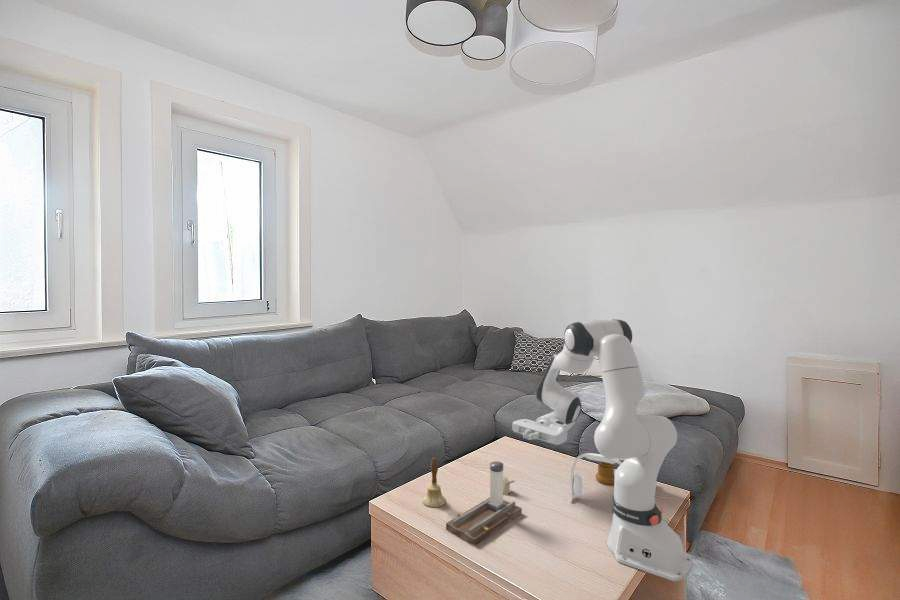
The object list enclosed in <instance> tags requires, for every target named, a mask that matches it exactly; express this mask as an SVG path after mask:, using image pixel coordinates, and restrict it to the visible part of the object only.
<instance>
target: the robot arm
mask: <svg viewBox="0 0 900 600" xmlns="http://www.w3.org/2000/svg"><path fill="white" fill-rule="evenodd" d="M632 331H633V330H632V328H631V327H630V325H629V323H628V322H627V321H625V320H622V319H615V318H614V319H590V320H585V321H575V322H573V323H570V324H567V326H566V327H565V330H564V333H563V339H564V344H563V347H562V350H559V351H556V352H555V353H554V354H553V356H552V357H551V359H550V361H549V362H548V365H547V366H546V369H545V372H544V373H543V375H542V378H541V380H540V382H539V383H538V385H537V386H536V388H535V396H536V399H537V401H539V402H541V403H542V404H544V405H545V406H547V407H549V408H550V409H552V411H551V412H549V413H546V414H544V415H542V416H539V417H537V418H536V420H531V419H527V418H522V419H521V418H520V419H517V420H514V421H513V422H512V431H513V432H514V433H516V434H520V435H522V439H524V440H529V441H531V440H539V441H543V442H545V443H548V444H553V445H555V446H559V445H562V444H563V443H565V442H567V441H568V431H569V430H570V428H572V427H573V426H574V424H575V423H576V421H577V419H578V418H579V416H580V414H581V411H582V401H581V399H580V397H578V395H576V394H575V393H573V392H571V391H570V390H569V389H568V388H567V389H566V388H565V387H564V386H562V385H560V384H559V382H557V380H556V379H557V377H558V375H559V373H560V371H562V372H566V373H570V374H582V373H585V372H586V371H588V370H589V369H590V368H591V367H592V364H593V363H594V359H595V356H596V357H597V358H598V362H599V368H600V369H599V370H600V374H601V377H602V378H601V379H602V383H603V389H604V395H605V408H604V409H605V410H604V414H603V415H602V416H603V417H602V419H601V420H600V421H601V422H600V423H599V424H598V426H597V427H596V428H595V431H594V435H593V440H594V441H593V442H594V445H595V447H596V449H597V451H598V452H599V454H601V455H602V456H604V457H605V458H607V459H616V460H619V461H622V464H621V465H619V466H618V467H617V468H616V469H615V471H614V475H615V478H614V484H613V485H614V486H613V488H614V489H613V496H612V501H611V514H612V518H611V519H612V520H611V526H610V530H609V533H608V534H609V535H608V537H607V540H606V544H607V546H608V549H610V551H611V552H612V553H613V554H614V558H615V560H616V561H617V562H618V563H620V564H623V565H626V566H629V567H631V568H634V569H638V570H640V571H643V572H646V573H647V574H648V573H649V574H652V575H655V576H658V577H660V578H663V579H666V580H669V581H672V582H677V581H678V582H679V581H682V580H684V579H685V578H687V576H689V574H691V572H692V569H693V566H694V565H693V564H694V563H693V559H692V558H693V557H692V556H691V554H690V553H687V551H684V546H683V541H682V539H681V537H680V535H679V534H677V532H675V531H674V529H672V528H671V527H670V526H669V525H668V524H667V523H666V522H665V520H663V519H662V518H663V516H662V515H663V513H664V508H663V507H662V508H661V509H659V507H658V506H657V504H656V490H657V487H656V482H657V479H658V475H659V472H660V470H661V467H662V465H663V462H664V460H665V458H666V456H667V454H668V453H669V452H671V451H670V450H672V449H673V448H674V447H675V446H676V444H677V441H678V433H677V428H676V427H675V425H674V424H673V422H672V420H670V419H669V418H668V417H666V416H663V415H654V414H645V415H638V414H637V410H638V405H639V403H640V401H642V400H643V399H644V397H645V395H646V388H645V385H644V381H643V377H642V374H641V373H642V372H641V368H640V365H639V361H638V358H637V355H636V353H635V349H634V348H633V345H632V341H633V332H632ZM637 415H638V416H637Z"/></svg>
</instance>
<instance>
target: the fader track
mask: <svg viewBox="0 0 900 600" xmlns="http://www.w3.org/2000/svg"><path fill="white" fill-rule="evenodd" d="M488 502H490V497H488V498H486V499H485V500H482V501H481V502H480V503H478V504H476V505H475V506H473V507H471V508H470V509H468V510H466V511H465V512H463V513H461V512H460V513H458V514H457V516H456V517H454V518H452V519H451V520H449V521H447V522H446V523H445V529H446V530H447V531H448V532H450V533H451V534H453V535H455V536H457V537H459V538H461V539H462V540H463V541H466V542H467V543H469V544H471V545H472V546H475V547H476V546H477V545H478V544H480V543H481V542H482V541H484V540H485V539H487V538H488V537H490V536H492V535H493V534H495V533H496V532H497V531H499V530H500V529H502V528H503V527H504V526H506V525H507V524H509V523H511V522H512V521H513V520H515V519H516V518H518V517H519V516H520V515H522V514H523V512H522V511H523V509H522V507H520V506H519V505H517V504H516V500H515V501H514V500H512V501H511V502H509V501H507V500H505V499H503V503H505V504H506V506H505V507H503V508H501V509H500V510H498V511H495V510H493V509H491V508H489V507H487V503H488Z"/></svg>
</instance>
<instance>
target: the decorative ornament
mask: <svg viewBox="0 0 900 600" xmlns="http://www.w3.org/2000/svg"><path fill="white" fill-rule="evenodd" d="M512 483H515V480H514V479H513V480H509V479H508V478H507V477H505V476H504V475H503V495H504V496H507V495H509V493H511V490H510V488H511V487H510V486H511V485H510V484H512Z"/></svg>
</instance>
